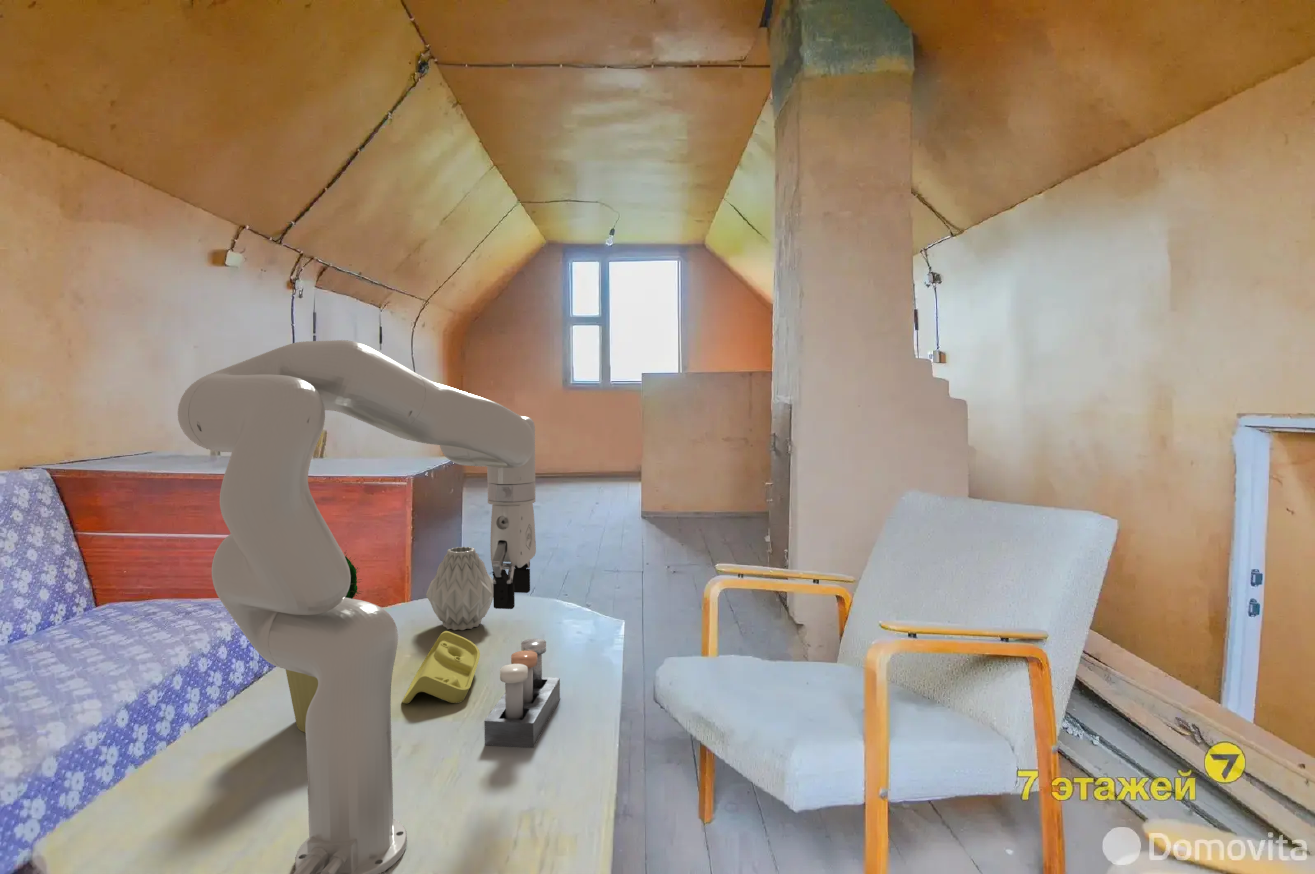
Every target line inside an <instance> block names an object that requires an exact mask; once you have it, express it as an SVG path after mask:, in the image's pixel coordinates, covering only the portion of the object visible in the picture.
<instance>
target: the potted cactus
mask: <svg viewBox="0 0 1315 874" xmlns="http://www.w3.org/2000/svg"><path fill="white" fill-rule="evenodd" d="M343 554H344V556H345V558H346V561H347V563H348V566H349V569H350V575H351V582H350V587H349V590H348V592H347V595H346V596H345V598H351V599H354V597H358V595H359V594H360V595H362V593H363V591H362V590H361V591H360V590H359V591H358V589H359V587H358V584H360V583H361V582H362V579H361V578H360V579H358V571H359V570H360V567H359V565H357V566H358V567H356V566H355V564H354V562H353V561H354V560H356V558H355V559H353V560H352V561H351V558H352V556H351V557H349V558H348V554H346V551H344V552H343ZM285 673H286V679H287V683H288V688H289V693H290V700H291V703H292V709H293V713H294V720H295V723H296V726H297V728H298V730H299V731H301V732H302V733H305V734H306V732H305V724H306V715H307V711H308V708H309V705H310V703H311V701H312V699H313V697H314V695H315V693H316V690H317V688H318V680H317V678H316V677H312V676H309V675H307V674H303V673H298V672H294V671H290V670H286V669H285Z"/></svg>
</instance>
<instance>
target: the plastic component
mask: <svg viewBox="0 0 1315 874" xmlns="http://www.w3.org/2000/svg"><path fill="white" fill-rule="evenodd" d="M480 657H481V651H480V649H479V647H478V646H477V645H476V644H475V643H474V642H473V641H471V640H470V639H467V638H465V637H463V636H461V635H459V634H456V633H454V632H451V631H448V630H444V631H443V632H442V633H440V635H439V636H438V638H437V639H436V640H435V642H434V644H433V645H432V647H431V648H430V651H429V652H428V653H427V655H426V656H425V658H424V660H423V661H422V664H421V665H420V667H419V669H418V670H417V672H416V674H414V677H413V679H412V681H411V682H410V685H409V687H408V688H407V690H406V693H405V695H404V696H403V699H402V701H401V703H403V704H404V705H405V704H407V705H408V704H410V703H411V701H413V699H414V698H415V697H416V695H418V693H425V694H428V695H431V696H433V697H435V698H438V699H441V700H443V701H445V702H448V703H451V704H460V703H462V702H463V701H464V700H465V698H466V696H467V695H468V692H469V690H470V688H471V686H472V682H473V679H474V676H475V674H476V671H477V667H478V664H479V662H480Z"/></svg>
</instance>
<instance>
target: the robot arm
mask: <svg viewBox="0 0 1315 874" xmlns="http://www.w3.org/2000/svg"><path fill="white" fill-rule="evenodd" d="M326 411H330V412H333V411H334V412H338V413H342V414H345V415H346V416H349V417H351V418H354V419H356V420H358V421H361V422H363V423H366V424H368V425H370V426H373V427H376V428H378V429H380V430H381V431H384V432H387V433H389V434H391V435H393V436H395V437H397V438H400V439H403V440H406V441H413V442H417V443H421V444H426V445H435V446H439V447H440V450H441V453H442V454H443V455H444V457H445V458H446V459H447V460H449V462H452V463H455V464H457V465H460V466H468V467H470V466H471V467H472V466H473V467H486V468H487V470H486V471H487V472H486V473H487V477H486V478H487V479H486V480H487V504H489V505H491V507H492V508H491V516H490V518H491V519H490V520H491V521H490V544H489V545H490V548H489V549H490V550H489V551H490V563H491V567H492V580H493V600H492V603H493V608H494V609H499V610H502V609H503V610H513V609H514V608H515V605H516V604H515V601H516V599H515V597H516V596H515V594H516V593H519V594H520V593H521V594H522V593H523V594H528V593H529V592H530V591H531V560H532V559H533V558H534V557H535V555H536V553H537V546H536V545H537V544H536V527H535V525H536V523H535V513H534V504H535V502H536V426H535V422H534V420H533V419H532V418H531V417H530V416H529V417H528V416H525V415H524V416H523V415H520V414H518V413H517V412H514V411H513V410H511V409H509V408H508V407H506V406H504V405H502V404H500V403H498V402H496V401H494V400H493V401H492V400H490V399H487V398H484V397H481V396H478V395H475V394H473V393H468V392H467V391H463V390H459V389H457V388H454V387H451V386H449V385H445V384H443V383H437V382H434V381H432V380H430V379H429V378H427V377H424V376H422V375H420V374H419V373H417V372H415V371H413V370H411V369H410V368H408V367H406V366H404V365H403V364H401V363H399V362H397V361H395V360H393V359H392V358H391V357H389V356H386V355H385V354H382V353H381V352H380V351H377V350H375V349H374V348H372V347H371V346H368V345H365V344H363V343H360V342H357V341H353V340H345V339H344V340H343V339H341V340H339V339H337V340H335V339H334V340H312V341H310V340H309V341H297V342H293V343H289V344H285V345H283V346H279V347H276V348H275V349H272V350H268V351H266V352H264V353H261V354H259V355H256V356H254V357H251V358H249V359H246V360H243V361H241V362H238V363H235V364H232V365H230V366H226V367H225V368H221V369H219V370H217V371H213V372H211V373H209V374H206V375H204V376H202V377H200V378H198V379H197V380H196V381H194V382H193V383H191V385H189V386H188V387H187V388H186V390H185V392H184V393H183V394H182V395H181V398H180V400H179V403H178V407H177V421H178V423H179V426H180V429H181V430H182V432H183V434H184V435H185V436H186V437H187V438H188V439H189V440H190V442H192V443H194V444H196V445H197V446H198V447H201V448H203V449H206V450H210V451H215V452H217V453H218V452H221V453H231V454H230V457H229V460H228V463H227V466H226V468H225V472H224V475H223V478H222V483H221V486H220V491H219V492H220V493H219V509H220V512H221V513H220V514H221V517H222V519H223V521H224V523H225V525H226V527H227V529H228V531H229V535H228V536H226V537H225V538H224V539H223V540H222V541H221V543H220V544H219V545H218V547H217V549H216V551H215V553H214V554H213V555H214V556H213V558H212V564H211V579H212V584H213V587H214V590H215V593H216V595H217V597H218V599H219V600H220V602H221V603H222V605H223V606H224V608H225V609H226V611H227V612H228V613H229V615H230V617H231V618H232V619H233V621H234V622H235V624H236V625H237V626H238V628H239V629H240V630H241V632H242V633H243V635H244V636H245V638H246V639H247V640H248V642H249V643H250V645H251V646H252V647H253V648H254V650H255V651H256V652H257V653H258V654H259V655H260V656H261V658H263V660H265V661H266V662H267V663H269V664H271V665H272V666H275V667H277V668H280V669H283V670H285V671H286V670H290V671H294V672H298V673H303V674H307V675H309V676H312V677H316V678H317V680H318V688H317V690H316V693H315V695H314V697H313V699H312V701H311V703H310V705H309V708H308V711H307V715H306V724H305V732H306V733H305V744H306V746H305V747H306V773H307V806H308V809H307V810H308V833H309V834H308V838H306V840H305V841H304V842H303V843H302V844H300V846H299V848H298V850H297V851H296V854H295V857H294V858H295V863H294V864H295V865H294V866H295V871H294V873H293V874H382V873H384V872H386V870H387V871H388V870H389V869H390V868H391V867H393V866H394V865H395V864H396V863H397V862H398V861H399V860H400V858H401V857H402V855H403V854H404V853H405V850H406V848H407V845H408V844H407V842H408V836H407V835H408V834H407V829H406V828H405V825H403V824H402V823H401V821H398V820H397V819H395V818H394V795H393V794H394V792H393V791H394V788H393V787H394V785H393V752H392V751H393V749H392V748H393V747H392V742H393V741H392V718H391V717H392V714H391V713H392V711H391V709H392V708H391V707H392V706H391V704H392V701H391V697H392V680H393V673H394V665H395V661H396V657H397V650H398V643H399V632H398V627H397V624H396V622H395V620H394V618H393V617H392V615H391V614H390V613H389V612H388V611H387V610H385V609H384V608H383V607H381V606H379V605H377V604H375V603H372V602H369V601H365V600H361V599H355V598H352V599H351V598H345V596H346V595H347V592H348V590H349V587H350V582H351V575H350V569H349V566H348V563H347V561H346V558H345V556H346V555H345V554H344V552H343V550H342V548H341V547H340V545H339V544H338V543H339V542H337V540H336V538H335V536H334V534H333V532H332V531H331V530H330V527H329V526H328V524H327V522H326V520H325V519H324V517H323V515H322V514H321V511H320V510H319V508H318V506H317V504H316V502H315V499H314V498H313V495H312V493H311V490H310V487H309V471H310V466H311V462H312V458H313V456H314V453H315V451H316V448H317V446H318V443H319V440H320V438H321V437H322V433H323V431H324V426H325V422H326V421H325V420H326ZM507 570H508V571H507Z"/></svg>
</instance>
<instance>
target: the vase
mask: <svg viewBox="0 0 1315 874" xmlns="http://www.w3.org/2000/svg"><path fill="white" fill-rule="evenodd" d="M488 573H489V572H488V571H487V568H486V565H485V562H484V561H483V560H482V559H481V558H480V555H479V554H478V553H477V552H476V549H475V548H474V547H470V546H467V547H466V546H456V547H452V548H448V549H447V551H446V554H445V555H444V557H443V559H442V561H441V562H440V563H439V564H438V567H437V570H436V574H435V576H434V578H433V579H432V580H431V582H430V584H429V585H428V589H427V591H426V594H425V596H426V598H427V599H428V601H429V603H430V605H431V607H432V610H433V612H434V614H435V615H436V617H437V618H438V621H441V622H442V626H443V627H444V628H446V630H453V631H457V630H460V631H464V630H466V629H467V630H472V629H473V628H475V627H476V628H477V627H479V625H480V624H482V620H483V619H484V618H485V617H486V615H487V613H488V612H489V610H490V607H491V605H492V603H493V577H491V576H490V574H488Z"/></svg>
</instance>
